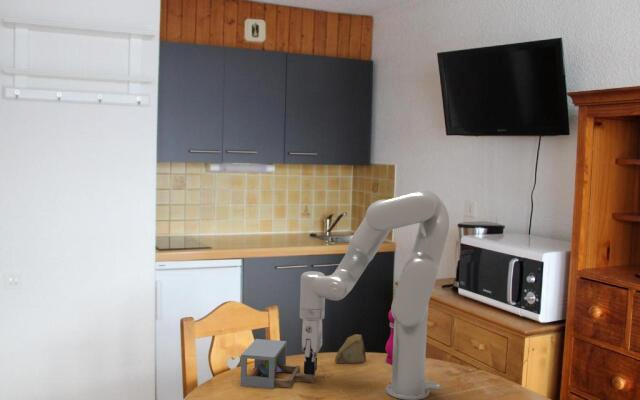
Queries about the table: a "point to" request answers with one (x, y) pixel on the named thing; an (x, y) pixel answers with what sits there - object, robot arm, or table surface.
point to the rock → (352, 350)
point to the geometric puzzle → (265, 368)
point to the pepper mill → (390, 340)
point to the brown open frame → (294, 377)
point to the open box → (262, 352)
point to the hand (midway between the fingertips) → (310, 371)
